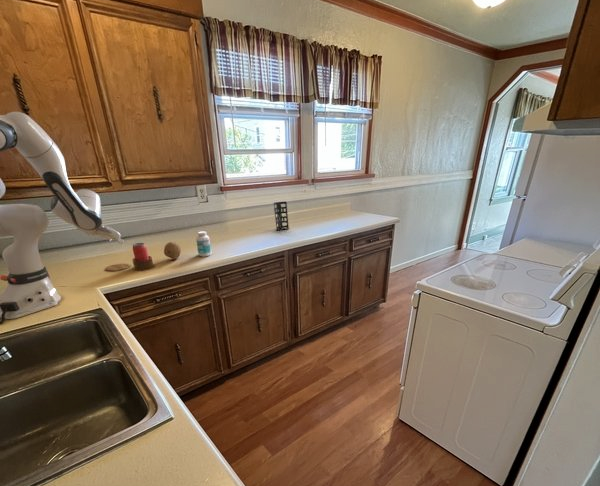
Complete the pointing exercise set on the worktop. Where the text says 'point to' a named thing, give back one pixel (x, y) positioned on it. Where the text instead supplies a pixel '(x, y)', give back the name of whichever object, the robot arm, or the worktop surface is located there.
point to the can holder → (143, 264)
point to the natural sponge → (172, 250)
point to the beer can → (140, 252)
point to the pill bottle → (203, 244)
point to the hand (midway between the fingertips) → (116, 240)
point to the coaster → (117, 267)
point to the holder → (279, 215)
